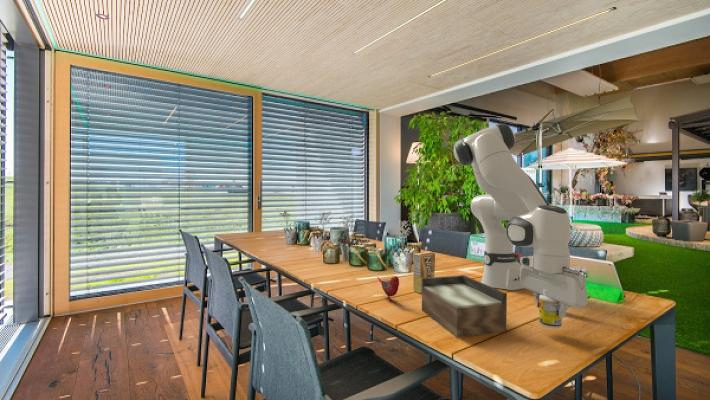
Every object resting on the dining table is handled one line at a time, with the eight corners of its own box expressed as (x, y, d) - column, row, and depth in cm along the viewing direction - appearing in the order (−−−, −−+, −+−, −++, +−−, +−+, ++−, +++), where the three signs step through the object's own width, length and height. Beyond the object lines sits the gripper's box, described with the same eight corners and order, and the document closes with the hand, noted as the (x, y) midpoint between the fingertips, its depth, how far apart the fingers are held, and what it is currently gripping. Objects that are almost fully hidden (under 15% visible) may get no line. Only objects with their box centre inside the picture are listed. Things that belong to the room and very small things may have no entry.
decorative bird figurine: (395, 306, 120) (395, 278, 119) (373, 292, 136) (374, 267, 136) (402, 305, 121) (402, 277, 120) (380, 291, 137) (380, 267, 137)
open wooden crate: (463, 306, 120) (464, 275, 120) (506, 331, 99) (506, 293, 98) (421, 310, 116) (422, 278, 116) (456, 337, 95) (456, 297, 94)
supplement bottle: (541, 319, 100) (541, 285, 100) (563, 324, 97) (563, 288, 96) (537, 325, 96) (537, 289, 96) (559, 331, 93) (560, 293, 92)
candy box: (426, 287, 143) (427, 251, 143) (435, 289, 140) (435, 252, 140) (412, 291, 138) (413, 253, 137) (421, 293, 135) (421, 255, 134)
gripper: (594, 271, 87) (593, 325, 87) (533, 256, 106) (532, 299, 107) (574, 273, 85) (573, 328, 85) (516, 257, 105) (515, 301, 105)
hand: (550, 312), depth 96 cm, fingers closed on supplement bottle, 6 cm apart
